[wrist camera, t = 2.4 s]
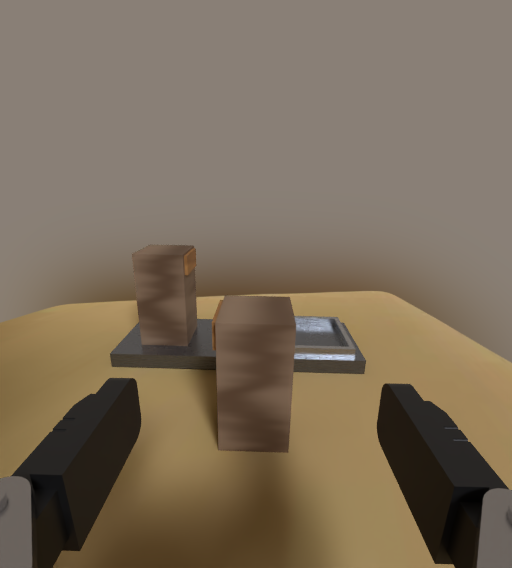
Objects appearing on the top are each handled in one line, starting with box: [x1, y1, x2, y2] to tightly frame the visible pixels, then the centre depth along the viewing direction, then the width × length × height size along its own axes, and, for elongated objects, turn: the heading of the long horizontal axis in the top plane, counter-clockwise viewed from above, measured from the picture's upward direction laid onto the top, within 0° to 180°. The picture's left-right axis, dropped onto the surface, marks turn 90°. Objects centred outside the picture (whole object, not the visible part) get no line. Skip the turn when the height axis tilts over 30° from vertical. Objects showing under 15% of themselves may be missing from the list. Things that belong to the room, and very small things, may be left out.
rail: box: [110, 316, 366, 374], centre depth 35 cm, size 26×9×2 cm, turn 89°
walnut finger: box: [212, 296, 296, 453], centre depth 23 cm, size 5×5×10 cm
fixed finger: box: [132, 245, 197, 346], centre depth 34 cm, size 5×5×10 cm
